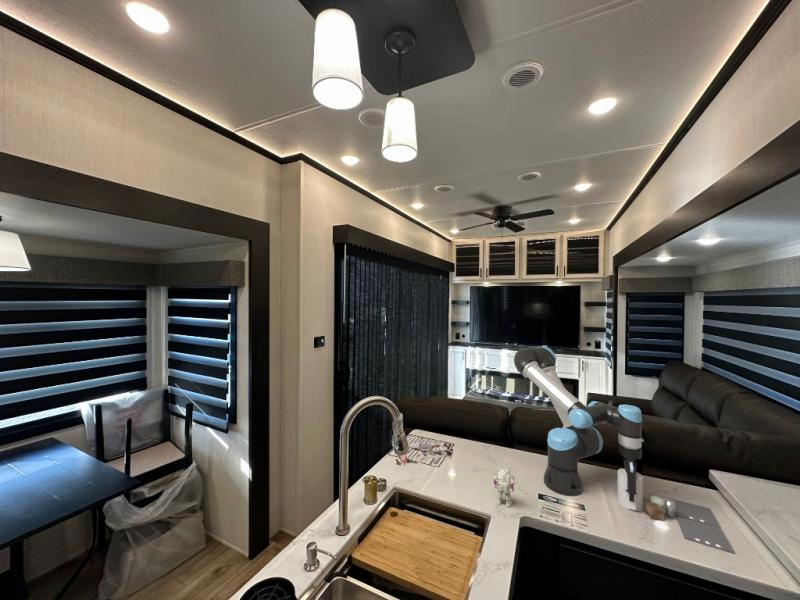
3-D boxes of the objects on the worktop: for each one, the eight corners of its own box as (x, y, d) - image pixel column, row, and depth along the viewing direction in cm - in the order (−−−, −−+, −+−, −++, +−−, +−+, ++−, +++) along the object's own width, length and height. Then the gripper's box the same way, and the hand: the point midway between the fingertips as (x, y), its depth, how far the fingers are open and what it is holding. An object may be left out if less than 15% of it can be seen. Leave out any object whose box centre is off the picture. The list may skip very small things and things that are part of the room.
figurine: (518, 507, 122) (518, 469, 122) (503, 513, 119) (503, 474, 119) (503, 495, 129) (503, 459, 129) (489, 501, 126) (489, 464, 126)
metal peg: (665, 517, 116) (665, 501, 116) (663, 512, 119) (663, 497, 119) (676, 520, 115) (676, 504, 115) (674, 515, 117) (674, 499, 117)
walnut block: (651, 519, 115) (651, 509, 115) (645, 512, 119) (645, 502, 119) (663, 521, 114) (663, 510, 114) (657, 513, 118) (657, 503, 118)
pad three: (684, 538, 106) (684, 537, 106) (676, 517, 116) (676, 516, 116) (734, 553, 100) (734, 552, 100) (721, 530, 110) (721, 528, 110)
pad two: (676, 516, 117) (676, 514, 117) (669, 498, 127) (669, 497, 127) (720, 528, 111) (720, 527, 111) (709, 509, 121) (709, 507, 121)
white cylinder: (647, 512, 119) (647, 481, 119) (623, 509, 121) (623, 478, 121) (636, 499, 127) (635, 469, 127) (613, 496, 129) (613, 467, 129)
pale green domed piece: (653, 509, 121) (653, 501, 121) (648, 502, 125) (648, 494, 125) (666, 510, 120) (666, 502, 120) (660, 503, 124) (660, 496, 124)
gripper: (645, 459, 113) (645, 521, 113) (638, 437, 131) (638, 491, 131) (620, 454, 117) (620, 514, 117) (616, 433, 135) (616, 485, 135)
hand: (630, 502), depth 124 cm, fingers closed on white cylinder, 8 cm apart
